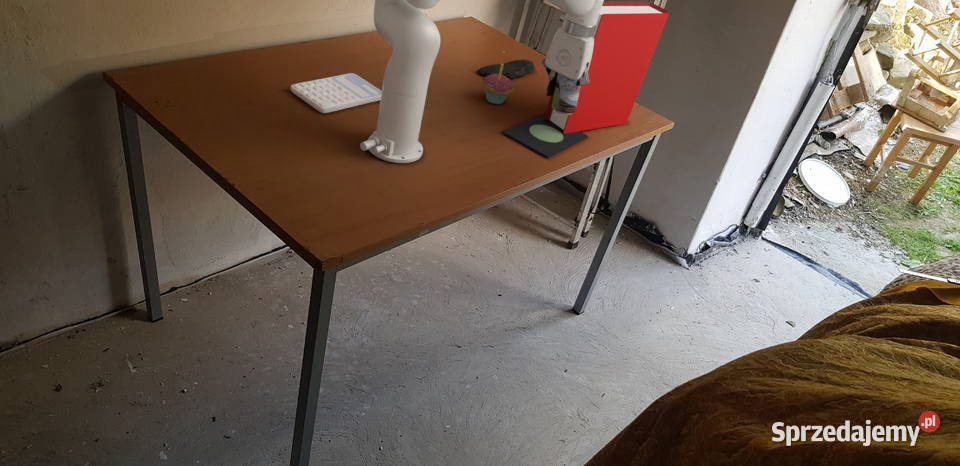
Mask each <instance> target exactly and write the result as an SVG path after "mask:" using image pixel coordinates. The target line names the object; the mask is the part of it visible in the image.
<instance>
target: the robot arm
mask: <svg viewBox="0 0 960 466" xmlns="http://www.w3.org/2000/svg"><path fill="white" fill-rule="evenodd" d="M547 1H548V2H549V3H550V4H551V5H553V6H555V7H557V8H558V9H560V10H561V11H563V12H564V13H565V15H563V14H561V15H560V16H559V19H558V20H559V21H560V22H561V26H558V27H557V30H556V31H555V34H554V36H553V37H552V40H551V43H550V44H549V48H548V50H547V54H546V56H545V57H544V59H542V60H541V64H542V66H543V67H544V69H545V71H546V73H547V79H548V84H547V87H546V96H547V97H550V96H551V95H554V92H555V87H556V82H557V77H558V73H559V74H561V75H564V76H566V77H568V78H570V79H572V80H578V79H580V78H581V76H582V80H579V81H577V84H576V86H581V85H587V84H589V83H590V81H589V75H588V69H589V66H590V62H591V58H592V53H593V46H594V38H593V33H594V30H595V27H596V24H597V21H598V17H599V14H600V11H601V8H602V4H603V1H605V0H547ZM439 2H440V0H374V6H373V24H374V27H375V29H376V31H377V33H378V34H379V36H381V38H382V39H383V40H384V41H385V42H386V43H387V44H388V45H389V46H390V47H391V48H392V49H391V50H392V54H391V56H390V58H389V60H388V62H387V64H386V66H385V69H384V73H383V78H382V79H383V80H382V87H381V91H382V94H381V100H379V107H378V108H379V109H378V114H377V121H376V128H375V130H374V131H373V132H372V134H371V135H370V136H369V137H368V139H367V140H365V141H362V142H360V143H359V148H360V150H361V151H362V152H363V151H364V152H365V151H368V152H370V153H371V154H372V155H373V156H375V158H378V159H380V160H383V161H385V162H389V163H394V164H409V163H415V162H416V161H418V160H420V159H421V157H422V156H423V153H424V147H423V145H422V143H421V141H419V137H420V133H421V132H420V131H421V126H422V120H423V116H424V110H425V105H426V99H427V93H428V88H429V83H430V78H431V74H432V70H433V67H434V65H435V61H436V59H437V56H438V54H439V52H440V48H441V41H442V40H441V33H440V31H439V29H438V26H437V25H436V24H435V22H434V21H433V20H432V18H430V17H429V16H428V15H426V13H424V12H423V11H422V10H429V9H432V8H434V7H435V6H436V5H437V4H438V3H439Z"/></svg>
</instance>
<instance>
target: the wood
mask: <svg viewBox="0 0 960 466" xmlns="http://www.w3.org/2000/svg"><path fill="white" fill-rule="evenodd" d="M501 64H502V63H497V64H490V65H485V66H482V67H480V69H477V72H478V74H479V75H481V76H485V77H486V76H487V75H488V76H489V75H491V74H499V71H500V67H501ZM503 64H504V65H503V69H502V74H501V75H504V76H506V77H507V78H508V79H510V80H511V79H517V78H522V77H525V75H528V74H531V73H535V64H534V61H532V60H529V59H515V60H511V61H508V62H503ZM485 77H484V78H485Z"/></svg>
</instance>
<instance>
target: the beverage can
mask: <svg viewBox="0 0 960 466" xmlns="http://www.w3.org/2000/svg"><path fill="white" fill-rule="evenodd" d="M579 80H582V76H581V78H580V79H578V80H572V79H570V78H568V77H566V76H564V75H561V74H559V73H558V77H557V82H556V87H555V92H554V98H553V103H552V108H553V109H554V111H555V112H557V113H559V114H564V115H570V114H572V113H574V112H575V111H576V107H577V102H578V97H579V92H580V87H581V86H576V84H577V81H579Z"/></svg>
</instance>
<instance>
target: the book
mask: <svg viewBox="0 0 960 466" xmlns="http://www.w3.org/2000/svg"><path fill="white" fill-rule="evenodd" d="M669 15H670V11H669V10H667V9H665V8H663V7H661V6H660V5H657V4H655V3H653V2H649V1H627V0H626V1H622V0H621V1H619V0H618V1H617V0H616V1H612V0H609V1H608V0H607V1H606V0H604V1H603V4H602V8H601V11H600V14H599V17H598V21H597V24H596V27H595V30H594V33H593V38H594V46H593V53H592V58H591V62H590V66H589V69H588V75H589V81H590V83H589V84H587V85H581V87H580V92H579V97H578V102H577V107H576V111H575V112H574V113H572V114H570V115H564V114H559V113H557V112H555V111H554V109H553V108H552V103H553V98H554V95H551V96H549V99H548V102H547V106H546V109H545V111H544V112H545V115H544V118H543V120H550V121H552V122H553V123H555V124H556V125H557V126H559V127H560V128H562V129H563V130H564V131H563V134H565V133H571V132H578V131H580V132H582V131H583V132H584V131H590V130H594V129H595V130H596V129H601V128H609V127H614V126H620V125H621V126H622V125H627V124H628V121H629V119H630V116H631V113H632V111H633V108H634V105H635V103H636V100H637V98H638V95H639V93H640V90H641V87H642V84H643V82H644V80H645V78H646V74H647V71H648V70H649V67H650V63H651V61H652V60H653V56H654V54H655V51H656V48H657V46H658V43H659V41H660V38H661V36H662V33H663V31H664V29H665V25H666V23H667V20H668V18H669Z"/></svg>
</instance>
